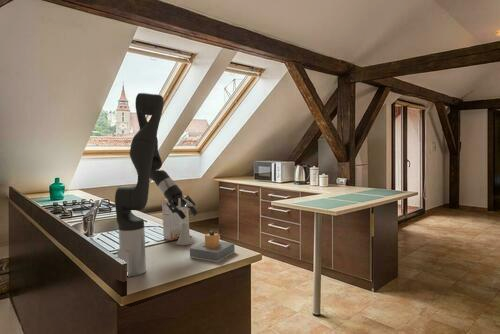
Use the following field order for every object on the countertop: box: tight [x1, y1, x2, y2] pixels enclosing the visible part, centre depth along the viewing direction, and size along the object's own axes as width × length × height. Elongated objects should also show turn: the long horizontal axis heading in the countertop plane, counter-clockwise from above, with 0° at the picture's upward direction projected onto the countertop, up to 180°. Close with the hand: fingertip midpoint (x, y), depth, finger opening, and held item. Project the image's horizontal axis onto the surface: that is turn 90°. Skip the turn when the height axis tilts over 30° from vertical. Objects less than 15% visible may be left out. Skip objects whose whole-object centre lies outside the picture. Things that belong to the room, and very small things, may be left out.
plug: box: [204, 230, 220, 249], centre depth 148 cm, size 4×4×10 cm
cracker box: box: [161, 195, 190, 241], centre depth 178 cm, size 14×6×21 cm, turn 149°
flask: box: [176, 223, 194, 246], centre depth 166 cm, size 7×7×10 cm
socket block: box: [189, 240, 235, 263], centre depth 148 cm, size 14×14×4 cm
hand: (190, 216), depth 153 cm, fingers open, 8 cm apart
